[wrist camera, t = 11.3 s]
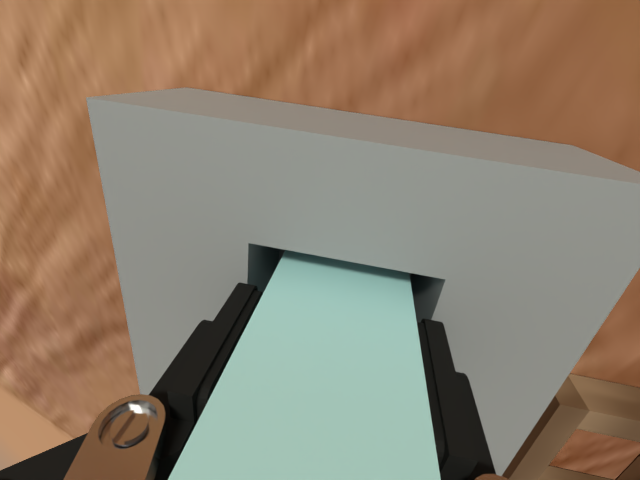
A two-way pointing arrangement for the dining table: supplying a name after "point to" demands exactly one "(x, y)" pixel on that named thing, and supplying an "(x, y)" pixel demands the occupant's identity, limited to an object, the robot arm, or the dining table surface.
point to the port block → (369, 230)
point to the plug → (320, 383)
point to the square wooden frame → (578, 427)
